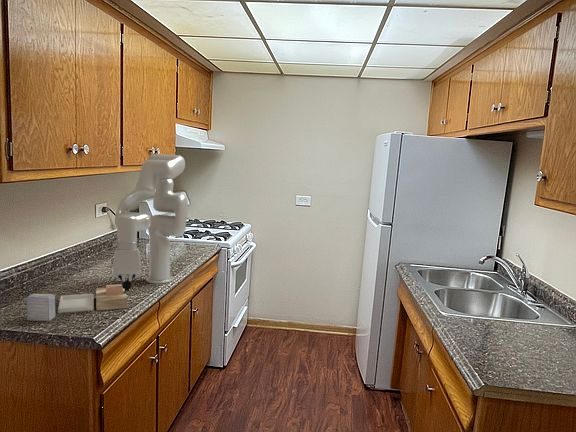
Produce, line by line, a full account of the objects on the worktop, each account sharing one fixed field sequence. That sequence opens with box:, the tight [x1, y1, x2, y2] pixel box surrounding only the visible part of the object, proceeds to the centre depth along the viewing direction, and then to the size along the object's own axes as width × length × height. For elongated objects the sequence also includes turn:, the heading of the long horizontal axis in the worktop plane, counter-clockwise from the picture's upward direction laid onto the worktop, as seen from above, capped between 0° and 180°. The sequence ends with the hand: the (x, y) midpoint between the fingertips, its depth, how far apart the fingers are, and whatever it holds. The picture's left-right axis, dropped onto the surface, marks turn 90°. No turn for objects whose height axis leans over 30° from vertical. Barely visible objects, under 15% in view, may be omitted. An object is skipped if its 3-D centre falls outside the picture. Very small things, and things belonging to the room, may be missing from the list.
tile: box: [105, 283, 123, 296], centre depth 177 cm, size 6×6×2 cm
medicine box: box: [26, 293, 56, 322], centre depth 157 cm, size 8×4×9 cm, turn 92°
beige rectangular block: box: [95, 286, 128, 311], centre depth 177 cm, size 16×11×4 cm
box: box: [57, 293, 95, 315], centre depth 173 cm, size 16×12×2 cm
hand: (126, 290), depth 179 cm, fingers closed
